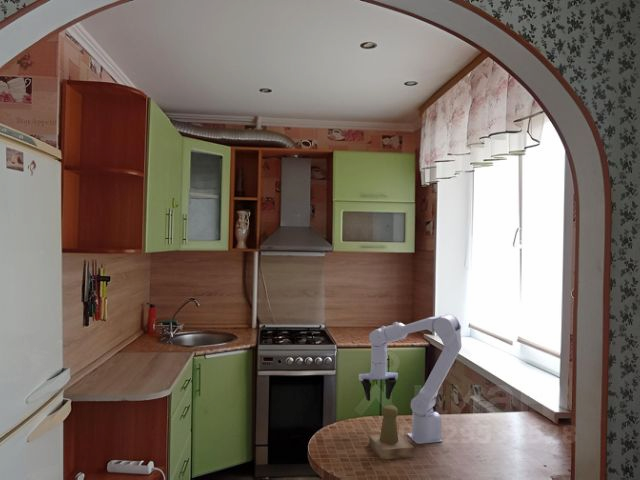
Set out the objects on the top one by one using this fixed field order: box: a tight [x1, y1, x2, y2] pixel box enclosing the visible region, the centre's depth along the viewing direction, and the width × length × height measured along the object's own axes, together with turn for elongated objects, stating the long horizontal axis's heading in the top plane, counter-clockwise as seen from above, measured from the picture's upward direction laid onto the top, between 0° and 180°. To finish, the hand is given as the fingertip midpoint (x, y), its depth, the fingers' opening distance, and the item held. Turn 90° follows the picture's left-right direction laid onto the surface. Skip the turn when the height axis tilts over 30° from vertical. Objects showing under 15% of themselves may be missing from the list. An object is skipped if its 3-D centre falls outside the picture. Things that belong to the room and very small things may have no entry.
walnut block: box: [368, 432, 415, 460], centre depth 156 cm, size 11×11×3 cm
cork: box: [379, 404, 399, 444], centre depth 157 cm, size 6×6×11 cm
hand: (377, 399), depth 174 cm, fingers open, 7 cm apart
